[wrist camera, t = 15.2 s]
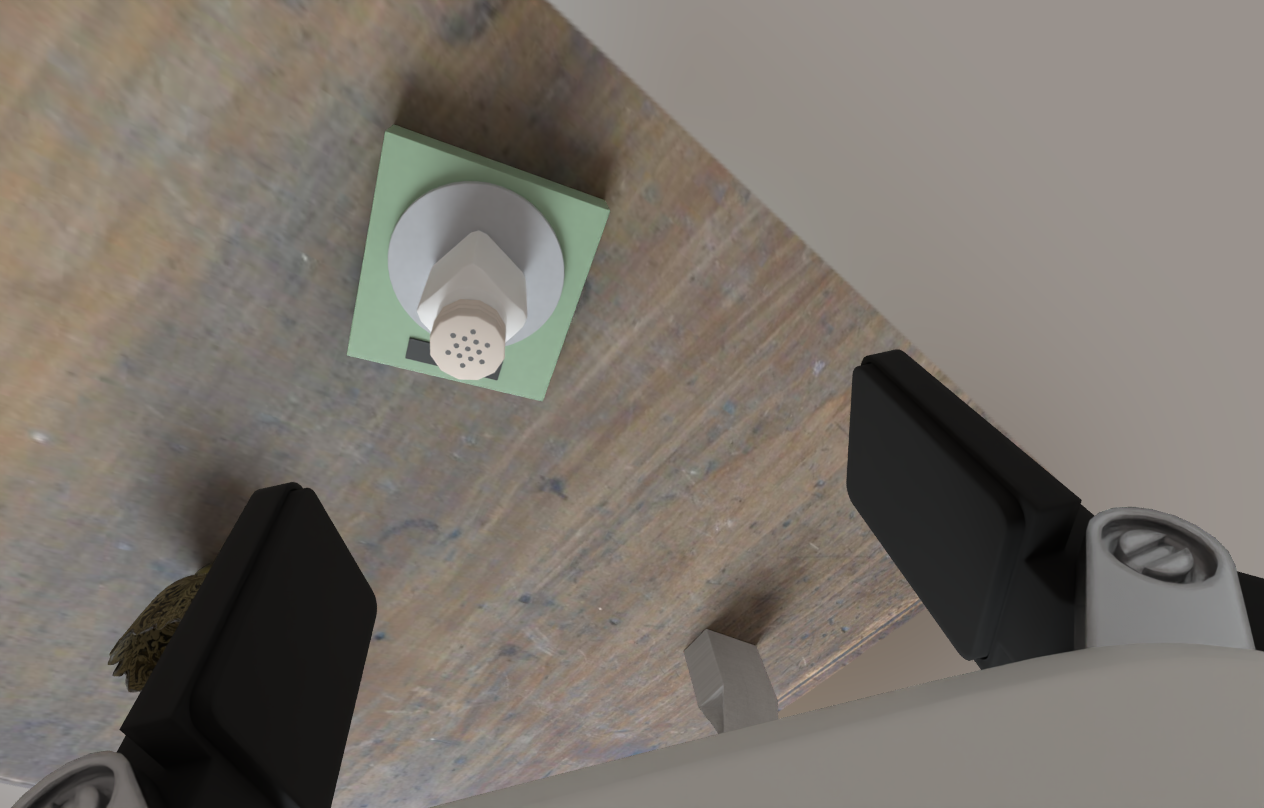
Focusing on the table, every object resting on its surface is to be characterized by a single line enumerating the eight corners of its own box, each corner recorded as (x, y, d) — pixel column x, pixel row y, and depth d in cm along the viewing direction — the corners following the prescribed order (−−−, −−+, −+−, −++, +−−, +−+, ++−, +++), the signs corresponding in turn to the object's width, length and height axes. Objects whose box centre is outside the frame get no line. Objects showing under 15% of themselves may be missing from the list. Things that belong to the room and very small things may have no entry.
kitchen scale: (393, 124, 32) (382, 132, 29) (605, 200, 36) (612, 213, 33) (355, 337, 38) (344, 360, 35) (541, 383, 41) (542, 406, 39)
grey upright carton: (706, 628, 59) (737, 729, 50) (756, 645, 61) (794, 743, 53) (683, 651, 60) (710, 752, 52) (733, 667, 63) (767, 765, 54)
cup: (287, 550, 45) (247, 640, 39) (272, 614, 49) (233, 708, 42) (172, 530, 43) (108, 623, 36) (164, 600, 46) (104, 697, 39)
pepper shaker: (425, 269, 33) (397, 345, 25) (479, 222, 32) (467, 285, 24) (478, 319, 35) (468, 405, 27) (530, 276, 34) (534, 352, 26)
